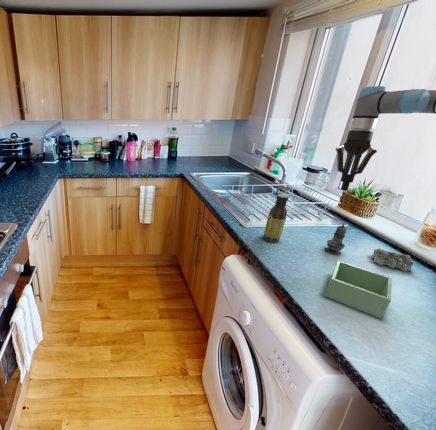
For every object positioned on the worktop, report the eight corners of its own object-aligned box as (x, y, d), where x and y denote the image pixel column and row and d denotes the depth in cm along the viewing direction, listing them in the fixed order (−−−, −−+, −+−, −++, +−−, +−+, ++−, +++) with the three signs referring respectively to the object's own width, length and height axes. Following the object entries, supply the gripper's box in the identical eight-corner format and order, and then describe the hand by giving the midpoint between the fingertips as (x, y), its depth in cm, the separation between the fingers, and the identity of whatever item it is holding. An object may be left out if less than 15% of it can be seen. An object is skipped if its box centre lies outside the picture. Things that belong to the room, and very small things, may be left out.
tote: (382, 294, 90) (391, 277, 87) (380, 318, 81) (391, 300, 78) (331, 276, 98) (338, 260, 95) (324, 295, 89) (331, 278, 86)
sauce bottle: (267, 233, 125) (279, 191, 117) (281, 239, 121) (295, 195, 112) (259, 238, 121) (271, 194, 113) (274, 244, 117) (288, 199, 109)
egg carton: (372, 263, 106) (377, 254, 104) (370, 254, 112) (374, 245, 110) (411, 273, 101) (416, 263, 99) (406, 263, 106) (411, 253, 105)
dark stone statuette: (323, 245, 117) (333, 219, 112) (341, 250, 114) (352, 223, 109) (324, 252, 112) (334, 225, 107) (342, 256, 110) (354, 229, 104)
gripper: (377, 131, 112) (359, 190, 118) (338, 129, 116) (322, 186, 123) (387, 131, 105) (367, 193, 112) (344, 129, 109) (328, 189, 116)
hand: (344, 190), depth 117 cm, fingers closed
